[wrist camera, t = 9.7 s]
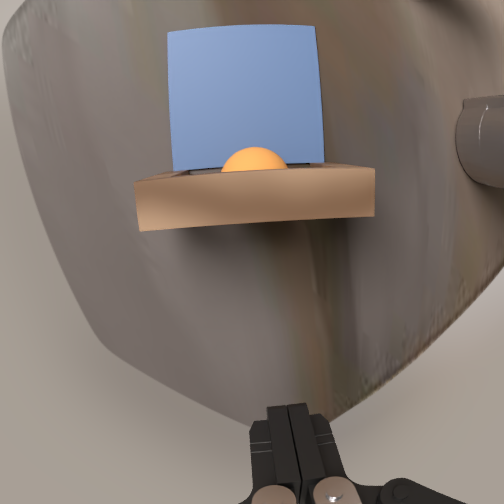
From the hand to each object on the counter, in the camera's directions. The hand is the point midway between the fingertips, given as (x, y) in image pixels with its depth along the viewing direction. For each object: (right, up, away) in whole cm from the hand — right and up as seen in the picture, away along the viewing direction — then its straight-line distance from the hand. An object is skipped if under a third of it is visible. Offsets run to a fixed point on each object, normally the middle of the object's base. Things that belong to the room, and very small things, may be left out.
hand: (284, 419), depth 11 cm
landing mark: (-2, +20, +13) cm, 24 cm away
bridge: (-1, +12, +16) cm, 20 cm away
